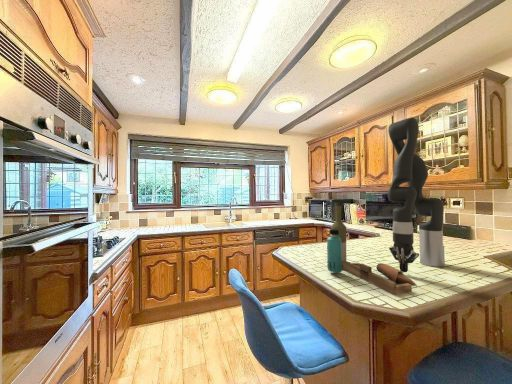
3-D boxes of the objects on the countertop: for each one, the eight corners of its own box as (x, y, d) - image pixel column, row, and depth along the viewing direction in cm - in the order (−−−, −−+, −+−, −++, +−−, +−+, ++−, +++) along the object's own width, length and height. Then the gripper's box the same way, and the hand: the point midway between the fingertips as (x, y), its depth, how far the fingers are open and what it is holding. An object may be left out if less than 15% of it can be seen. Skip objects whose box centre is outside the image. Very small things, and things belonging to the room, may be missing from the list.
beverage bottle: (342, 271, 100) (341, 228, 100) (343, 277, 94) (342, 230, 94) (327, 270, 102) (326, 227, 102) (327, 275, 96) (326, 230, 96)
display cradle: (357, 267, 105) (357, 255, 106) (412, 292, 78) (411, 275, 78) (342, 269, 103) (342, 256, 103) (393, 294, 76) (392, 277, 76)
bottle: (349, 266, 107) (348, 205, 107) (341, 269, 103) (340, 206, 103) (337, 263, 112) (336, 205, 113) (328, 266, 108) (327, 206, 109)
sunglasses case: (419, 285, 84) (409, 270, 84) (402, 294, 84) (393, 279, 85) (395, 269, 101) (386, 257, 102) (381, 277, 102) (373, 265, 103)
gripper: (424, 233, 90) (425, 276, 89) (396, 229, 102) (397, 266, 102) (410, 234, 88) (411, 278, 87) (383, 230, 100) (384, 267, 100)
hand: (403, 271), depth 95 cm, fingers closed
